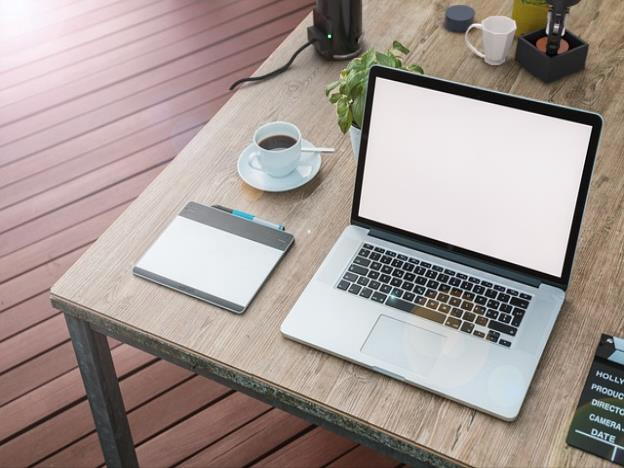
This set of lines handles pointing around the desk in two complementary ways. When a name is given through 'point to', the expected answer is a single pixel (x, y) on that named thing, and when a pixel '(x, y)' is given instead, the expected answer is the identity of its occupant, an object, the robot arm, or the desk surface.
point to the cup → (495, 38)
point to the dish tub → (553, 66)
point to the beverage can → (529, 15)
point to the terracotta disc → (542, 42)
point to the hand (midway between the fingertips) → (551, 52)
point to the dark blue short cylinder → (459, 18)
